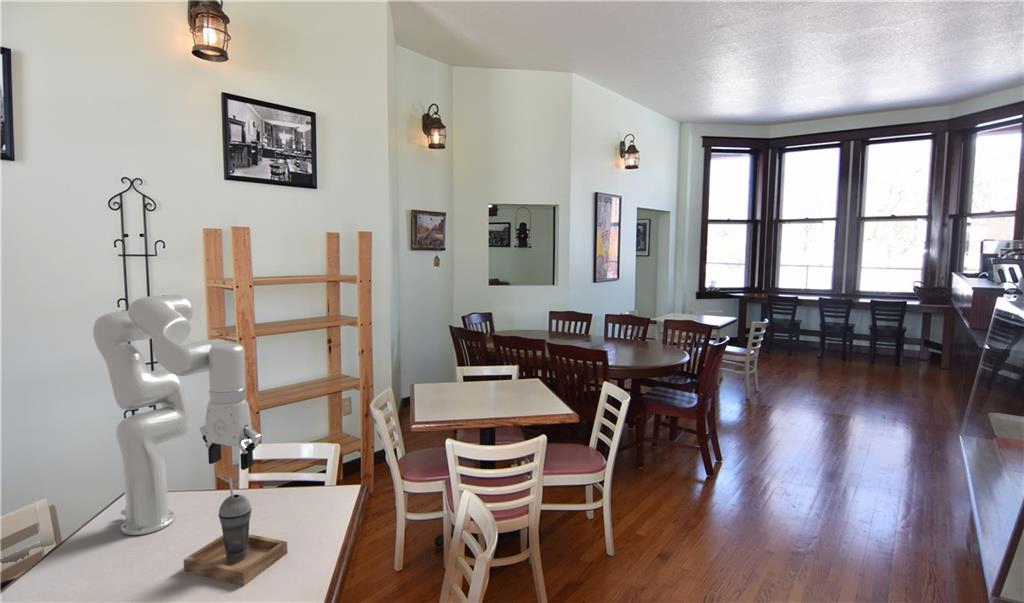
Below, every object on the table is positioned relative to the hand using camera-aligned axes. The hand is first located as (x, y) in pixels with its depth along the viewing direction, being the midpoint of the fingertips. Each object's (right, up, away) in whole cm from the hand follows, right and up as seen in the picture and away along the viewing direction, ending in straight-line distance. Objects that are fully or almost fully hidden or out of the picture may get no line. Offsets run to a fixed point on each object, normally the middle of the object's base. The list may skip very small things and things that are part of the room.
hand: (230, 464), depth 131 cm
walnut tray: (0, -25, +2) cm, 25 cm away
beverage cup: (0, -24, +2) cm, 24 cm away
